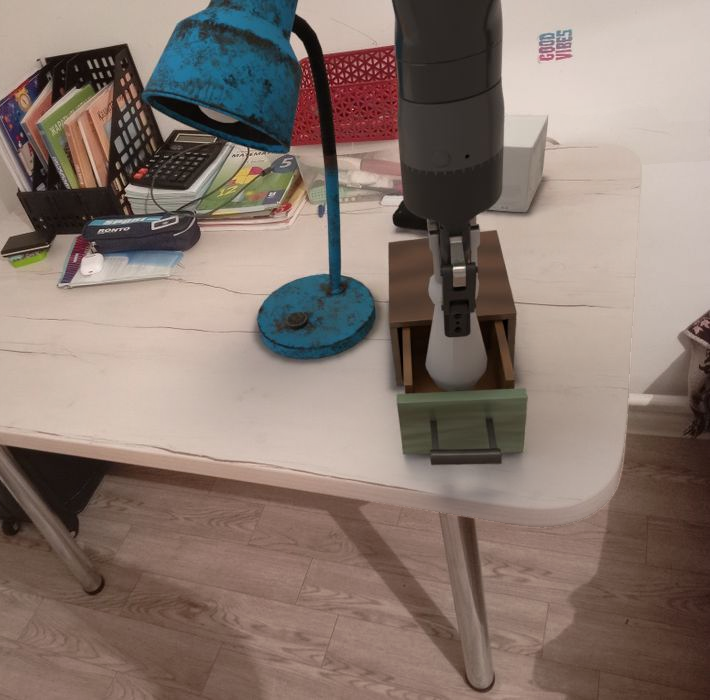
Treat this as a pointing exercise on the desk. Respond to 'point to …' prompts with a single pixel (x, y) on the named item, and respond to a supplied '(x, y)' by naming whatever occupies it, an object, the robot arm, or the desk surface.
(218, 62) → the desk lamp
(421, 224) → the tape measure
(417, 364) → the drawer
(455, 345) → the salt shaker
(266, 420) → the desk surface
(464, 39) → the robot arm
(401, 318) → the cabinet
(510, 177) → the cosmetics box
